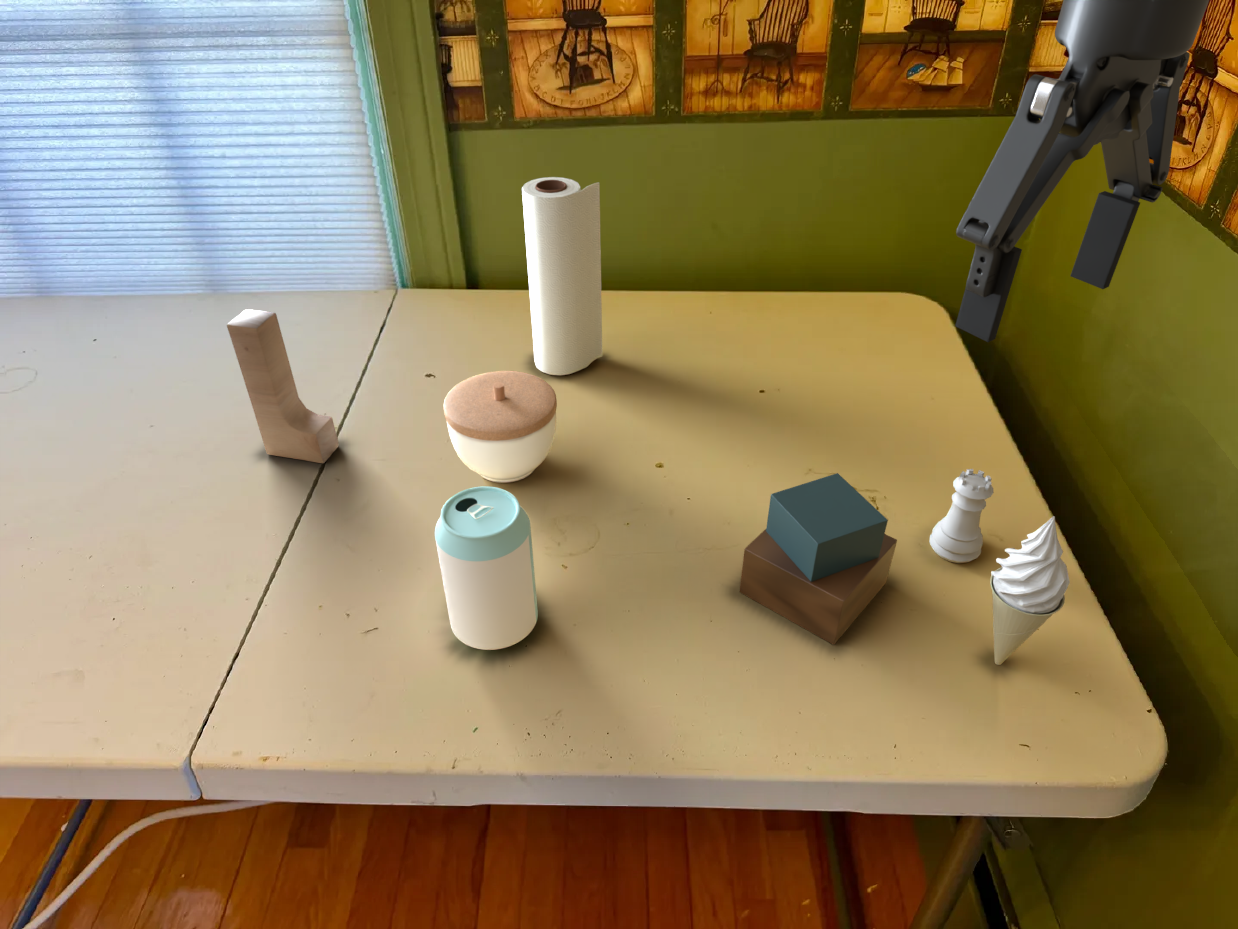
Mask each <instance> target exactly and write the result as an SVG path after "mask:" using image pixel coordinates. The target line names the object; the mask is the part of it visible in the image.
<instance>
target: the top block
mask: <svg viewBox="0 0 1238 929" xmlns="http://www.w3.org/2000/svg"><path fill="white" fill-rule="evenodd" d="M768 506H769V507H768V514H767V520H766V527H765V529H766V532H767V533H768V534H769V535H770V536H771V537H772V538H773V540H774V541H775V542H776V543H777V544H778V545H779V546H780V547H781V549H782V550H783V551H784V552H785V553H786V554H787V555H788V556H789V558H790V559H791V560H792V561H793V562H794V563H795V564H796V566H797V567H798V568H799V569H800V570H801V571H802V572H803V573H804V575H805V576H806V577H807V578H808V579H809V580H810V581H811V582H812V581H815V580H818V579H820V578H823V577H826V576H829V575H832V574H834V573H837V572H840V571H843V570H845V569H848V568H851V567H854V566H856V565H859V564H862V563H865V562H868V561H870V560H873V559H876V558H878V557H879V554H880V550H881V546H882V542H883V538H884V534H886V530H887V525H888V521H889V519H887V517H885V516H884V515H883V514H882V513H881V512H880V511H879V510H878V509H877V508H876V507H875V506H874V505H872V503H870V502H869V501H868V500H867V499H866V498H865V497H864V496H863V495H862V494H861V493H859V491H857V489H855V488H854V487H853V486H852V485H851V484H850V483H849V482H848V481H847V480H846V479H845V478H844V477H843V476H842V475H840V473H838V472H836V473H832V474H830V475H827V476H823V477H821V478H817V479H815V480H811V481H808V482H805V483H801V484H799V485H795V486H792V487H789V488H786V489H781V490H778V491H776V492H774V493H770V498H769V504H768Z"/></svg>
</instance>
